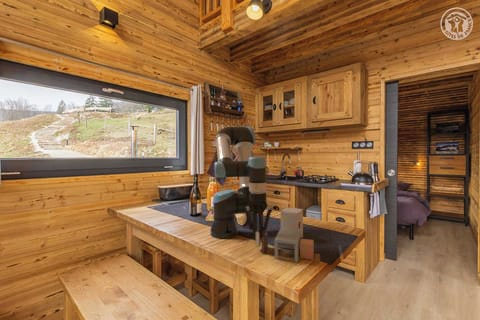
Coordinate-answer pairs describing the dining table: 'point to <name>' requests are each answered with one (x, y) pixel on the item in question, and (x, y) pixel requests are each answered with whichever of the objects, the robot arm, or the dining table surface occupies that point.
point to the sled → (283, 251)
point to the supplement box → (292, 219)
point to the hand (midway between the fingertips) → (258, 245)
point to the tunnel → (288, 241)
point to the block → (306, 249)
